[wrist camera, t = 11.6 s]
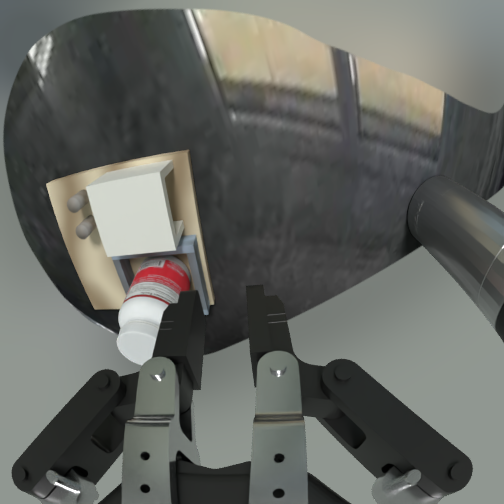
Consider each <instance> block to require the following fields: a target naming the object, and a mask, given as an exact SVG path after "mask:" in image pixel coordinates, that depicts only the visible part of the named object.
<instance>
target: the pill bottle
mask: <svg viewBox="0 0 504 504" xmlns="http://www.w3.org/2000/svg"><path fill="white" fill-rule="evenodd" d="M190 284H191V276H190V272H189V270H188V268H187V267H186V265H185V264H184V263H183V262H182V261H181V260H179V259H178V258H176V257H174V256H172V255H161V256H150V257H147V258H146V259H145V260H144V261H143V262H142V263H141V265H140V267H139V269H138V271H137V273H136V275H135V277H134V280H133V282H132V284H131V286H130V288H129V291H128V293H127V295H126V297H125V299H124V302H123V304H122V306H121V309H120V311H119V317H118V319H119V325H120V327H121V329H120V332H119V335H118V338H117V346H118V349H119V351H120V352H121V353H122V354H123V355H124V356H125V357H126V358H127V359H129V360H130V361H132V362H134V363H137V364H140V365H143V364H144V363H145V362H146V361H147V360H149V359H151V358H152V354H153V350H154V346H155V342H156V338H157V334H158V330H159V326H160V323H161V319H162V315H163V312H164V310H165V309H166V308H167V307H168V305H169V304H170V303H178V298H179V294H180V292H181V291H189V290H190Z"/></svg>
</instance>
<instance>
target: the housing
mask: <svg viewBox="0 0 504 504" xmlns="http://www.w3.org/2000/svg"><path fill="white" fill-rule="evenodd" d="M172 169H173V161H172V160H167V161H161V162H156V163H150V164H145V165H139V166H134V167H129V168H124V169H120V170H115V171H111V172H107V173H105V174H104V175H102V176H101V177H99V178H98V179H96V180H95V181H93V182H92V183H90V184H89V185H88V186H86V190H87V194H88V198H89V201H90V205H91V208H92V212H93V215H94V218H95V222H96V225H97V228H98V231H99V234H100V237H101V240H102V243H103V246H104V249H105V252H106V255H107V257H113V256H123V255H133V254H143V253H153V252H163V251H174V250H176V249H177V246H178V243H179V241H180V238H181V235H182V232H183V230H184V223H183V220H180V221H173V219H172V214H171V209H170V204H169V199H168V194H167V189H166V183H165V177H166V176H167V175H168V174H169V172H170V171H171V170H172Z"/></svg>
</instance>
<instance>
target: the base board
mask: <svg viewBox="0 0 504 504" xmlns="http://www.w3.org/2000/svg"><path fill="white" fill-rule="evenodd" d="M167 160H172V161H173V169H172V170H171V171H170V172H169V174H168V175H167V176H166V177H165V183H166V189H167V194H168V199H169V204H170V209H171V214H172V219H173V221H180V220H183V223H184V230H183V232H182V235H181V238H180V241H179V243H178V246H177V249H176V250H174V251H163V252H153V253H143V254H133V255H123V256H113V257H107V255H106V252H105V249H104V246H103V243H102V240H101V237H100V234H99V231H98V228H97V225H96V222H95V218H94V215H93V212H92V208H91V205H90V201H89V198H88V194H87V190H86V186H88V185H89V184H90V183H92V182H93V181H95V180H96V179H98V178H99V177H101V176H102V175H104V174H105V173H107V172H111V171H115V170H120V169H124V168H129V167H134V166H139V165H145V164H150V163H156V162H161V161H167ZM46 185H47V189H48V192H49V196H50V199H51V203H52V206H53V209H54V212H55V215H56V218H57V221H58V224H59V227H60V230H61V233H62V236H63V238H64V241H65V244H66V246H67V249H68V251H69V254H70V256H71V259H72V261H73V264H74V266H75V268H76V271H77V273H78V275H79V278H80V280H81V282H82V284H83V286H84V288H85V290H86V293H87V295H88V297H89V299H90V301H91V303H92V305H93V307H94V309H121V306H122V304H123V302H124V299H125V297H126V295H127V293H128V291H129V288H130V286H131V284H132V282H133V280H134V277H135V275H136V273H137V271H138V269H139V267H140V265H141V263H142V262H143V261H144V260H145V259H146V258H147V257H150V256H161V255H172V256H174V257H176V258H178V259H179V260H181V261H182V262H183V263H184V264H185V265H186V267H187V268H188V270H189V272H190V276H191V284H190V290H198V292H199V295H200V299H201V303H202V307H203V311H204V315H209V306H210V305H214V300H215V297H214V292H213V287H212V282H211V277H210V272H209V267H208V262H207V256H206V251H205V245H204V240H203V234H202V228H201V222H200V216H199V210H198V204H197V198H196V191H195V185H194V178H193V171H192V164H191V157H190V150H185V151H178V152H172V153H166V154H160V155H154V156H149V157H144V158H139V159H134V160H129V161H124V162H120V163H115V164H111V165H107V166H103V167H99V168H95V169H91V170H87V171H83V172H80V173H76V174H73V175H69V176H66V177H62V178H59V179H56V180H53V181H51V182H49V183H47V184H46Z"/></svg>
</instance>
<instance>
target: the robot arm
mask: <svg viewBox="0 0 504 504" xmlns="http://www.w3.org/2000/svg"><path fill="white" fill-rule="evenodd" d="M408 226H409V229H410V232H411V233H412V235H413V236H414V237H415V238H416V239H417V240H418V241H419V242H420V243H421V244H422V245H423V246H424V247H425V248H426V249H427V250H428V251H429V253H430V254H431V255H432V256H433V257H434V258H435V259H436V260H437V261H438V262H439V263H440V264H441V265H442V266H443V267H444V268H445V269H446V270H447V272H448V273H449V274H450V275H451V276H452V277H453V278H454V279H455V281H456V282H457V283H458V284H459V285H460V286H461V288H462V289H463V290H464V291H465V292H466V294H467V295H468V296H469V297H470V298H471V300H472V301H473V302H474V303H475V304H476V306H477V307H478V308H479V309H480V311H481V312H482V313H483V314H484V316H485V317H486V318H487V320H488V321H489V322H490V324H491V325H492V326H493V328H494V329H495V330H496V332H497V333H498V335H499V336H500V337H501V339H502V340H503V342H504V212H502V211H501V210H500V209H498V208H496V207H495V206H494V205H492V204H491V203H489V202H488V201H486V200H485V199H483V198H481V197H480V196H478V195H477V194H475V193H473V192H472V191H470V190H468V189H467V188H465V187H463V186H462V185H460V184H458V183H456V182H455V181H453V180H451V179H449V178H447V177H445V176H435V177H432V178H430V179H428V180H426V181H425V182H424V183H423V184H422V185H421V186H420V187H419V188H418V189H417V191H416V192H415V194H414V196H413V198H412V200H411V202H410V205H409V210H408ZM246 293H247V310H248V326H249V340H250V341H249V342H250V355H251V362H252V371H253V378H254V386H255V387H256V409H255V418H254V422H253V437H252V455H251V461H248V462H244V463H240V464H236V465H232V466H228V467H224V468H219V469H211V468H207V467H203V466H201V465H200V456H199V452H198V449H197V446H196V439H195V421H194V403H193V400H192V395H193V390H201V377H202V364H203V352H204V341H205V330H206V323H205V315H204V311H203V307H202V303H201V299H200V295H199V292H198V290H189V291H181V292H180V294H179V298H178V303H170V304H169V305H168V307H167V308H166V309H165V310H164V312H163V315H162V319H161V323H160V326H159V330H158V334H157V338H156V342H155V346H154V350H153V354H152V358H151V359H149V360H147V361H146V362H145V363H144V364H143V365H142V367H141V369H140V371H139V372H136V373H133V374H129V375H125V376H120V377H119V376H118V374H117V373H116V372H115V371H113V370H109V369H105V370H101V371H99V372H97V373H95V374H94V375H93V376H92V377H91V378H90V379H89V381H88V382H87V383H86V384H85V385H84V386H83V387H82V388H81V389H80V390H79V391H78V392H77V393H76V395H75V396H74V397H73V398H72V399H71V400H70V401H69V402H68V403H67V404H66V405H65V406H64V407H63V409H62V410H61V411H60V412H59V413H58V414H57V415H56V417H54V419H53V420H52V421H51V422H50V423H49V424H48V425H47V426H46V427H45V429H44V430H43V431H42V432H41V433H40V434H39V435H38V437H37V438H36V439H35V440H34V441H33V442H32V443H31V445H30V446H29V447H28V448H27V449H26V450H25V452H24V453H23V454H22V455H21V456H20V457H19V459H18V460H17V461H16V462H15V463H14V465H13V467H12V478H13V481H14V484H15V485H16V486H17V487H18V488H19V489H20V490H21V491H24V492H26V493H28V494H30V495H33V496H34V497H36V498H38V499H39V500H40V501H41V503H42V504H93V502H94V500H97V499H98V497H99V494H98V492H97V491H96V487H95V485H96V484H97V482H98V481H99V480H100V479H101V477H102V476H103V475H104V474H105V473H106V471H107V470H108V469H109V468H110V466H111V465H112V464H113V463H114V462H115V460H116V459H117V458H118V457H119V455H120V454H121V453H122V452H123V463H122V464H123V465H122V483H121V484H120V485H119V486H117V488H115V489H114V490H113V491H112V492H111V493H110V494H109V495H107V496H106V497H105V498H104V499H103V500H102V501H100V502H99V503H98V504H351V503H349V502H348V501H346V500H345V499H344V498H342V497H341V496H339V495H338V494H337V493H335V492H334V491H333V490H331V489H330V488H329V487H327V486H326V485H325V484H324V483H322V482H321V481H320V480H319V479H317V478H316V477H314V476H313V475H312V474H310V473H308V472H307V455H306V437H305V422H304V417H303V416H310V417H316V418H317V420H318V421H319V422H320V423H321V424H322V425H323V426H324V427H325V428H326V429H327V430H328V431H329V432H330V433H331V434H332V435H333V436H334V437H335V438H336V439H337V440H338V441H339V442H340V443H341V444H342V445H343V446H344V447H345V448H346V449H347V450H348V451H349V452H350V453H351V454H352V455H353V456H354V457H355V458H356V459H357V460H358V461H359V462H360V463H361V464H362V465H363V466H364V467H365V468H366V469H367V470H369V471H370V472H371V473H372V474H373V475H374V476H375V477H376V478H377V479H376V481H375V482H374V484H373V487H372V496H373V498H374V499H375V501H376V502H377V504H437V503H438V502H439V501H440V500H441V499H442V498H443V497H444V496H447V495H449V494H452V493H455V492H457V491H459V490H461V489H462V488H464V487H465V486H466V485H467V483H468V482H469V480H470V478H471V476H472V470H473V468H472V463H471V460H470V459H469V458H468V457H467V456H466V455H465V454H464V453H463V452H461V451H460V450H459V449H457V448H456V447H455V446H454V445H452V444H451V443H450V442H449V441H448V440H447V439H445V438H444V437H443V436H442V435H440V434H439V433H438V432H437V431H436V430H434V429H433V428H432V427H431V426H430V425H428V424H427V423H426V422H425V421H423V420H422V419H421V418H420V417H419V416H417V415H416V414H415V413H414V412H413V411H411V410H410V409H409V408H408V407H407V406H405V405H404V404H403V403H402V402H401V401H399V400H398V399H397V398H396V397H395V396H394V395H392V394H391V393H390V392H389V391H388V390H387V389H385V388H384V387H383V386H382V385H381V384H379V383H378V382H377V381H376V380H375V379H374V378H372V377H371V376H370V375H369V374H368V373H367V372H365V371H364V370H363V369H362V368H361V367H360V366H358V365H357V364H356V363H355V362H352V361H350V360H347V359H338V360H334V361H331V362H330V363H328V364H327V365H326V366H317V365H311V364H307V363H304V362H303V361H301V360H300V359H298V358H297V357H296V355H295V354H294V352H293V348H292V343H291V338H290V333H289V328H288V324H287V319H286V314H285V309H284V305H283V302H282V301H281V300H280V299H279V298H278V297H277V295H275V296H265V295H264V288H263V285H253V286H246Z"/></svg>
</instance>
